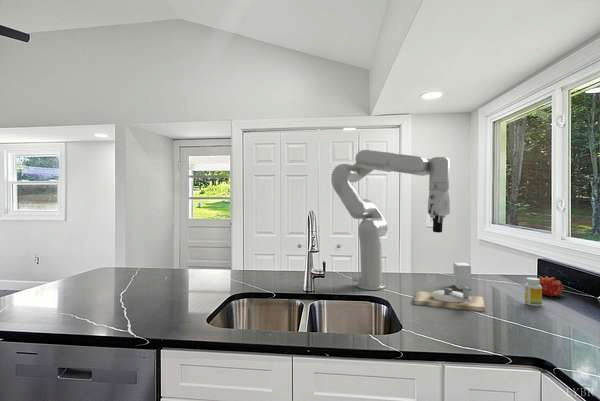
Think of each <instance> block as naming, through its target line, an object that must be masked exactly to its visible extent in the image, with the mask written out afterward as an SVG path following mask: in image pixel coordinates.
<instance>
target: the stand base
mask: <svg viewBox="0 0 600 401" xmlns="http://www.w3.org/2000/svg"><path fill="white" fill-rule="evenodd" d="M432 292H433V291H431V292H430V291H420V290H418V291H417V292H416V295H415V297H414V299H413V304H414V305H419V306H426V307H427V306H429V307H436V308H437V307H439V308H446V309H447V308H448V309H457V310H465V311H466V310H467V311H475V312H476V311H477V312H486V306H485V302H484V296H475V295H469V299H470V302H465V301H464V302H458V303H450V302H442V301H438V300H435V299H433V298H432Z"/></svg>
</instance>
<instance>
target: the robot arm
mask: <svg viewBox="0 0 600 401" xmlns="http://www.w3.org/2000/svg"><path fill="white" fill-rule="evenodd" d="M354 159H355V163H354V164H348V163H342V164H338V165H336V166H335V167H334V169H332V172H331V178H330V180H331V185H332V188H333V189H334V192H335V193H336V194H337V196H338V197H339V200H340V201H341V202H342V204H343V206H344V207H345V209H346V210H347V212H348V214H349V215H350V217H352V218H353V219H355V220H362V221H361V222H360V223H359V224H358V228H357V229H358V230H357V232H358V233H357V234H358V238H359V246H360V247H359V248H360V250H359V251H360V252H359V254H360V276H352V277H351V280H352V281H353V282H354V283H355V282H357V287H358V288H359V289H362V290H365V291H378V290H384V289H385V288H386V283H384V282H383V272H382V271H383V269H382V268H383V267H382V265H383V263H382V243H381V238H382V237H384V236H385V235H386V233H387V232H388V228H389V227H388V226H389V225H388V223H387V221H386V219H385V217H384V216H383V214H382V213H381V212H380V210H379V209H378V207H377V206H376V205H375V203H374V202H373V201H371V200H370V199H367V198H366V199H365V198H362V197H361V195H360V194H359V193H358V191H357V190H356V188H355V187H354V186H353V185H352V184H351V183H356V182H359V181H361V180H362V179H363V178H365V177H366V176H367V175H369V174H370V173H372V172H373V171H381V172H388V173H390V172H395V173H403V174H409V175H414V176H420V177H421V176H422V177H423V176H429V177H428V178H429V180H428V183H429V184H428V191H429V193H428V202H427V214H428V215H429V217H430V218H429V219H432V232H433V233H440V234H441V233H443V222H444V219H445V218H446V216H448V215H449V214H450V212H451V210H450V209H451V208H450V206H451V204H450V193H449V189H450V188H449V187H450V159H449V158H448V157H445V156H435V157H431V158H425V157H422V156H418V155H411V154H410V155H409V154H399V153H395V152H390V151H389V152H388V151H387V152H386V151H379V150H372V149H371V150H369V149H362V150H359V151H358V152H357V153H356V154H355V158H354Z"/></svg>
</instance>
